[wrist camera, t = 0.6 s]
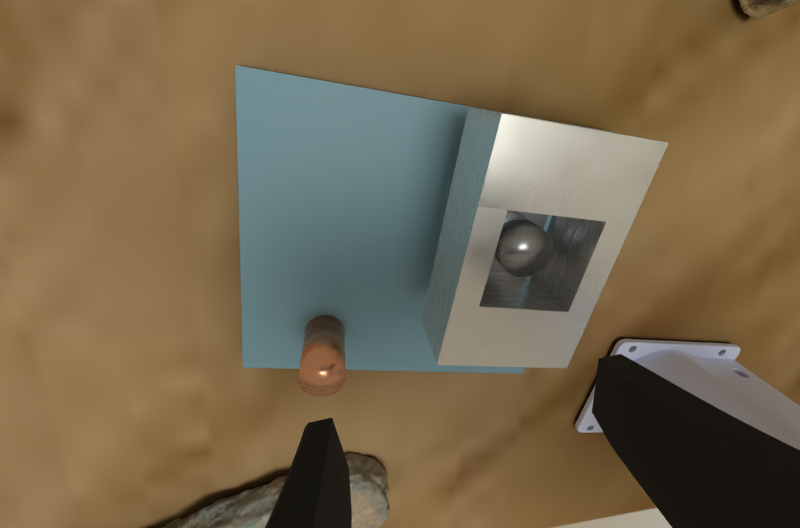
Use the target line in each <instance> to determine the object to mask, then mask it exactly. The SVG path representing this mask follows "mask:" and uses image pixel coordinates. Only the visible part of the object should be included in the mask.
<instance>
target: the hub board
mask: <svg viewBox="0 0 800 528" xmlns="http://www.w3.org/2000/svg"><path fill="white" fill-rule="evenodd" d="M235 76H236V116H237V155H238V195H239V234H240V273H241V313H242V352H243V367H244V368H289V369H300V362H301V354H302V347H303V340H304V333H305V327H306V325H307V323H308V322H309V321H310V320H311V319H313V318H315V317H317V316H321V315H329V316H333V317H335V318H337V319H339V320H340V321H341V322H342V324H343V326H344V330H345V370H380V371H425V372H471V373H516V374H523V373H524V370H525V368H526V367H497V366H459V365H437V364H436V361H435V358H434V355H433V352H432V349H431V346H430V343H429V340H428V337H427V335H426V332H425V329H424V326H423V323H422V320H421V319H422V315H423V310H424V306H425V301H426V297H427V292H428V288H429V283H430V279H431V274H432V270H433V265H434V261H435V256H436V252H437V247H438V242H439V238H440V233H441V229H442V224H443V220H444V215H445V211H446V206H447V202H448V197H449V193H450V188H451V184H452V179H453V175H454V170H455V166H456V161H457V157H458V152H459V148H460V143H461V139H462V134H463V130H464V125H465V121H466V116H467V112H468V107H469V106H464V105H458V104H452V103H447V102H441V101H435V100H430V99H424V98H419V97H413V96H407V95H402V94H396V93H390V92H385V91H379V90H373V89H368V88H362V87H356V86H351V85H345V84H339V83H334V82H328V81H323V80H317V79H311V78H306V77H300V76H294V75H289V74H283V73H277V72H272V71H266V70H260V69H255V68H249V67H244V66H237V65H235ZM472 108H475V107H472ZM478 109H481V108H478ZM484 110H486V109H484ZM489 111H492V110H489ZM495 112H498V111H495ZM500 113H503V112H500ZM506 114H509V113H506ZM512 115H515V114H512ZM517 116H520V115H517ZM523 117H526V116H523ZM529 118H531V117H529ZM534 119H537V118H534ZM540 120H543V119H540ZM546 121H548V120H546ZM551 122H554V121H551ZM557 123H560V122H557ZM563 124H565V123H563ZM568 125H571V124H568ZM574 126H577V125H574ZM580 127H582V126H580ZM585 128H588V127H585ZM591 129H594V128H591ZM597 130H599V129H597ZM602 131H605V130H602ZM608 132H610V131H608ZM613 133H616V132H613ZM551 218H552V215H548V216H547V219H546V222H545V225H544V228H543V230H544V231H545V232H547V229H548V226H549V223H550V221H551Z"/></svg>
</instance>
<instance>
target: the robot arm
mask: <svg viewBox="0 0 800 528" xmlns="http://www.w3.org/2000/svg"><path fill="white" fill-rule="evenodd" d="M739 353H740V347H738V346H737V345H735V344H726V343H704V342H683V341H661V340H639V339H622V340H619V341H618V342H617V343H616V345H615V347H614V349H613V351H612V352H611V354H610V356H609V357H604V358H600V359H599V362H598V369H597V377H596V384H595V386H594V388H593V390H592V392H591V394H590V396H589V398H588V400H587V402H586V404H585V406H584V408H583V410H582V412H581V414H580V416H579V418H578V420H577V422H576V424H575V428H576V429H577V431H578V432H581V433H590V432H603V433H604V434H605V436H606V437H607V439H608V441H609V442H610V444H611V446H612V447H613V449H614V450H615V452H616V453H617V455H618V456H619V457H620V459H621V460H622V461H623V463H624V464H625V465H626V467H627V468H628V469H629V471H630V472H631V473H632V475H633V476H634V477H635V479H636V480H637V481H638V483H639V484H640V485H641V487H642V488H643V489H644V491H645V492H646V493H647V495H648V496H649V497H650V499H651V500H652V501H653V503H654V504H655V505H656V507H657V508H658V509H659V511H660V512H661V513H662V515H663V516H664V517H665V518H666V520H667V521H668V523H669V524H670V525H671V526H672V528H800V406H799V405H798V404H796V403H795V402H793V401H792V400H791V399H789V398H788V397H786V396H785V395H783V394H782V393H781V392H779V391H778V390H776V389H775V388H774V387H772V386H771V385H769V384H768V383H766V382H765V381H764V380H762V379H761V378H759V377H758V376H757V375H755V374H754V373H752V372H751V371H749V370H748V369H747V368H745V367H744V366H742V365H741V364H739V363H738V362H737V361H735V359H736V357H737V356H738V355H739ZM265 528H352V506H351V490H350V477H349V467H348V464H347V461H346V458H345V455H344V452H343V449H342V446H341V443H340V440H339V437H338V434H337V431H336V428H335V425H334V422H333V419H332V418H329V419H324V420H319V421H315V422H310V423H308V424H307V425H306V427H305V429H304V432H303V435H302V438H301V441H300V444H299V446H298V449H297V452H296V455H295V457H294V460H293V462H292V465H291V468H290V470H289V473H288V475H287V478H286V480H285V483H284V485H283V487H282V490H281V492H280V494H279V497H278V499H277V501H276V504H275V506H274V508H273V511H272V513H271V515H270V517H269V520H268V522H267V524H266V526H265Z"/></svg>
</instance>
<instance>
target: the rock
mask: <svg viewBox="0 0 800 528" xmlns="http://www.w3.org/2000/svg"><path fill="white" fill-rule="evenodd" d="M739 2H740V6H741V9H742V10H743V12H744V13H745V14H748V15H749V16H750V17H751V18H752V19H754V20H758V19H760V18H762V17H764V16H765V15H767V14H770V13H773V12H775V11H778V10H780V9H784V8H788V7H790V6H792V5H794V4H796V3H798V2H800V0H739Z"/></svg>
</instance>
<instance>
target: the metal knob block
mask: <svg viewBox="0 0 800 528" xmlns="http://www.w3.org/2000/svg"><path fill="white" fill-rule="evenodd" d="M547 216H548V215H545V214H537V213H529V212H520V211H512V210H507V214H506V217H505V221H504V224H503V227H502V231H501V234H500V237H499V241H498V244H497V248H496V251H495V254H494V258H493V261H492V265H491V268H490V271H492V272H504V273H509V274H511V275H513V276H515V277H528V276H531V275H534V274H536V273H538V272H539V271H541V270H542V269H543V268H544V267H545V266H546V265H547V263H548V262H549V260H550V259H551V256H552V253H553V241H552V239H551V237H550V235H549V234H548V233H547V232H545V231H544V230H543V228H544V225H545V222H546V219H547Z"/></svg>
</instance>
